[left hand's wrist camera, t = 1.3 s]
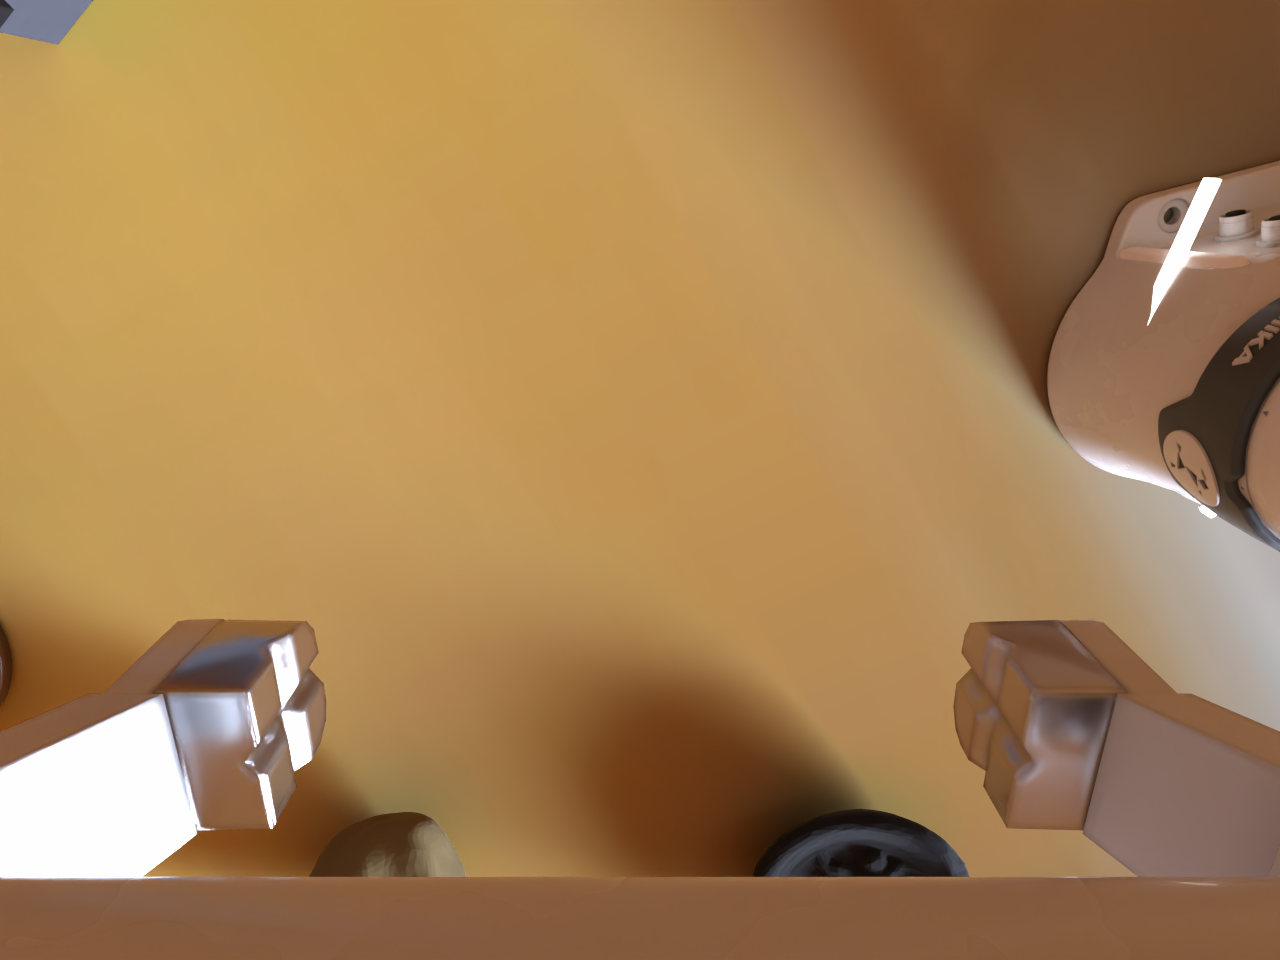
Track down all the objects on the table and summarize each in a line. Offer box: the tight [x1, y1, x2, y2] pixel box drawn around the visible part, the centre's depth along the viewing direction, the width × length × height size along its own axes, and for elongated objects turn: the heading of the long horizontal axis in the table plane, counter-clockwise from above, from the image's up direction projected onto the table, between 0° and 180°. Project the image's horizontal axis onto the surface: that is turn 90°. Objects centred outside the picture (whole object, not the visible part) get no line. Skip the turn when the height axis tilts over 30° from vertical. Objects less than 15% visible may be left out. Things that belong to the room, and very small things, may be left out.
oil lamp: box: [753, 809, 969, 877], centre depth 57 cm, size 15×20×5 cm
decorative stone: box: [309, 812, 467, 877], centre depth 55 cm, size 17×11×10 cm, turn 165°
